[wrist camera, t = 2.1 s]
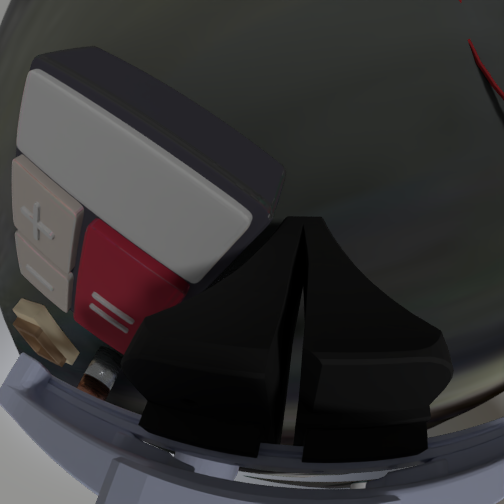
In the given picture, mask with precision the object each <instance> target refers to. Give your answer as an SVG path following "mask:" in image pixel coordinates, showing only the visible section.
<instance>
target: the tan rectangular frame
mask: <svg viewBox="0 0 504 504" xmlns="http://www.w3.org/2000/svg"><path fill="white" fill-rule="evenodd" d="M13 311H14V312H15V314H16V315H17V316H18V318H17V319H16V320H15V322H14V323H13V325H14V326H15V328H16V329H17V330H18V332H19V333H20V334H21V335H22V337H23V338H24V339H25V340H26V341H27V343H28V344H29V345H30V346H31V347H32V348H33V350H34V351H35V352H36V353H37V354H38V355H40V356H42V357H44V358H45V359H47V360H49V361H51V362H53V363H55V364H57V365H59V366H61V367H63V365H64V363H65V362H66V363H68V364H71V365H73V363H74V361H75V360H76V358H77V356H78V355H79V351H78V350H77V349H76V348H75V346H74V345H73V344H72V343H71V342H70V340H69V339H68V338H67V336H66V335H65V334H64V333H63V331H62V330H61V329H60V327H59V326H58V324H57V323H56V322H55V320H54V319H53V318H52V316H51V315H50V313H49V312H48V310H47V309H46V307H45V306H44V305H41V304H38V303H35V302H31V301H28V300H25V299H23V298H22V299H21V300H20V301H19V302H18V303H17V305H16V306H15V307H14V308H13Z"/></svg>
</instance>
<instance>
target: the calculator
mask: <svg viewBox="0 0 504 504" xmlns="http://www.w3.org/2000/svg"><path fill="white" fill-rule="evenodd" d="M285 176H286V171H285V168H284V167H283V166H282V165H281V164H280V163H279V162H278V161H277V160H275V159H274V158H273V157H271V156H270V155H269V154H268V153H266V152H265V151H264V150H262V149H261V148H260V147H258V146H257V145H256V144H254V143H253V142H252V141H250V140H249V139H248V138H246V137H245V136H243V135H242V134H241V133H239V132H238V131H236V130H235V129H234V128H232V127H231V126H229V125H228V124H226V123H225V122H224V121H222V120H221V119H219V118H218V117H216V116H215V115H213V114H212V113H210V112H209V111H207V110H206V109H204V108H203V107H201V106H200V105H198V104H197V103H195V102H194V101H192V100H191V99H189V98H187V97H186V96H184V95H183V94H181V93H179V92H178V91H176V90H175V89H173V88H171V87H170V86H168V85H166V84H165V83H163V82H161V81H160V80H158V79H156V78H154V77H153V76H151V75H149V74H147V73H146V72H144V71H142V70H140V69H138V68H137V67H135V66H133V65H131V64H129V63H127V62H125V61H124V60H122V59H120V58H118V57H116V56H114V55H112V54H110V53H108V52H106V51H104V50H102V49H100V48H98V47H95V46H90V47H81V48H73V49H66V50H60V51H55V52H50V53H45V54H41V55H38V56H36V57H35V58H34V60H33V61H32V64H31V67H30V71H29V73H28V76H27V79H26V83H25V88H24V93H23V98H22V103H21V109H20V115H19V122H18V130H17V150H16V158H15V159H13V162H12V207H13V221H14V225H15V227H16V228H17V231H16V232H15V240H16V248H17V255H18V261H19V266H20V271H21V273H22V275H23V276H24V277H25V278H26V279H27V280H29V281H30V282H31V283H32V284H33V285H34V286H35V287H36V288H37V289H38V290H39V291H40V292H42V293H43V294H44V295H45V296H46V297H47V298H48V299H49V300H51V301H52V302H53V303H54V304H55V305H57V306H58V307H59V308H60V309H61V310H63V311H64V312H66V313H67V312H68V310H69V309H70V310H71V311H72V312H73V313H74V319H75V321H77V322H78V323H79V324H80V325H82V326H83V327H84V328H86V329H87V330H88V331H90V332H91V333H92V334H94V335H95V336H97V337H98V338H99V339H101V340H102V341H104V342H105V343H107V344H108V345H110V346H111V347H113V348H114V349H116V350H117V351H119V352H120V353H122V354H123V355H124V353H125V352H126V350H127V348H128V346H129V344H130V342H131V340H132V338H133V337H134V335H135V333H136V331H137V329H138V328H139V326H140V325H141V323H142V321H143V320H144V318H145V317H147V316H150V315H152V314H155V313H157V312H160V311H162V310H165V309H167V308H170V307H172V306H175V305H177V304H179V303H182V302H184V301H186V300H188V299H190V298H192V297H194V296H196V295H198V294H200V293H201V292H203V291H204V290H205V289H206V288H207V287H208V286H209V285H210V284H211V283H212V282H213V281H214V280H215V279H216V278H217V277H218V276H219V275H220V274H221V273H222V272H223V271H224V270H225V269H226V268H227V267H228V266H229V265H230V264H231V263H232V262H233V261H234V260H235V259H236V258H237V257H238V256H239V255H240V254H241V253H242V251H243V250H244V249H245V248H246V247H247V246H248V245H249V244H250V243H251V242H252V241H253V240H254V239H255V238H256V237H257V236H258V235H259V234H260V233H261V232H262V231H263V230H264V229H265V228H266V227H267V226H268V225H269V224H270V222H271V221H272V219H273V217H274V213H275V210H276V207H277V204H278V200H279V197H280V194H281V190H282V187H283V184H284V180H285Z"/></svg>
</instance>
